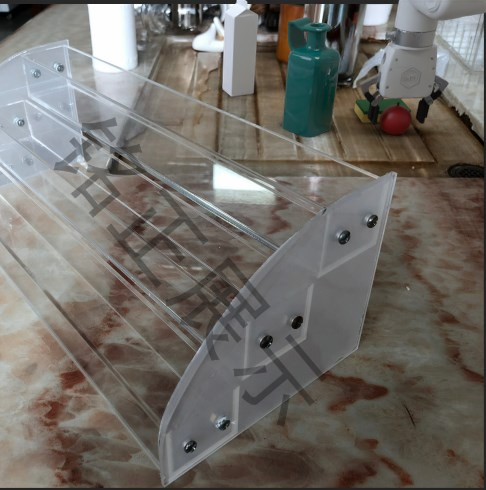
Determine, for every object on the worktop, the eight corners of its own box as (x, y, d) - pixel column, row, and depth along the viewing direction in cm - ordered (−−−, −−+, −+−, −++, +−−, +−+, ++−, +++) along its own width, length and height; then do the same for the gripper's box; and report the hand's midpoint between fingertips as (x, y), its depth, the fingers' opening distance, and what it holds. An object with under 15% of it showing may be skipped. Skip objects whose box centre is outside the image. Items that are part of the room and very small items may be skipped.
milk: (231, 98, 145) (234, 3, 132) (222, 90, 150) (224, -3, 137) (254, 95, 146) (259, 0, 134) (244, 87, 151) (248, -6, 138)
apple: (403, 127, 128) (408, 96, 124) (412, 139, 122) (419, 106, 119) (373, 128, 128) (378, 97, 124) (382, 140, 123) (387, 107, 119)
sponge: (398, 111, 135) (400, 98, 133) (408, 123, 129) (411, 110, 128) (353, 112, 135) (355, 99, 134) (362, 124, 130) (364, 111, 128)
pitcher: (334, 129, 127) (349, 23, 115) (308, 140, 123) (321, 31, 111) (299, 116, 134) (310, 14, 122) (273, 127, 130) (281, 22, 117)
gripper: (373, 44, 111) (358, 130, 120) (466, 41, 110) (445, 128, 120) (362, 33, 117) (349, 115, 127) (451, 31, 117) (431, 114, 126)
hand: (396, 121), depth 123 cm, fingers open, 9 cm apart
